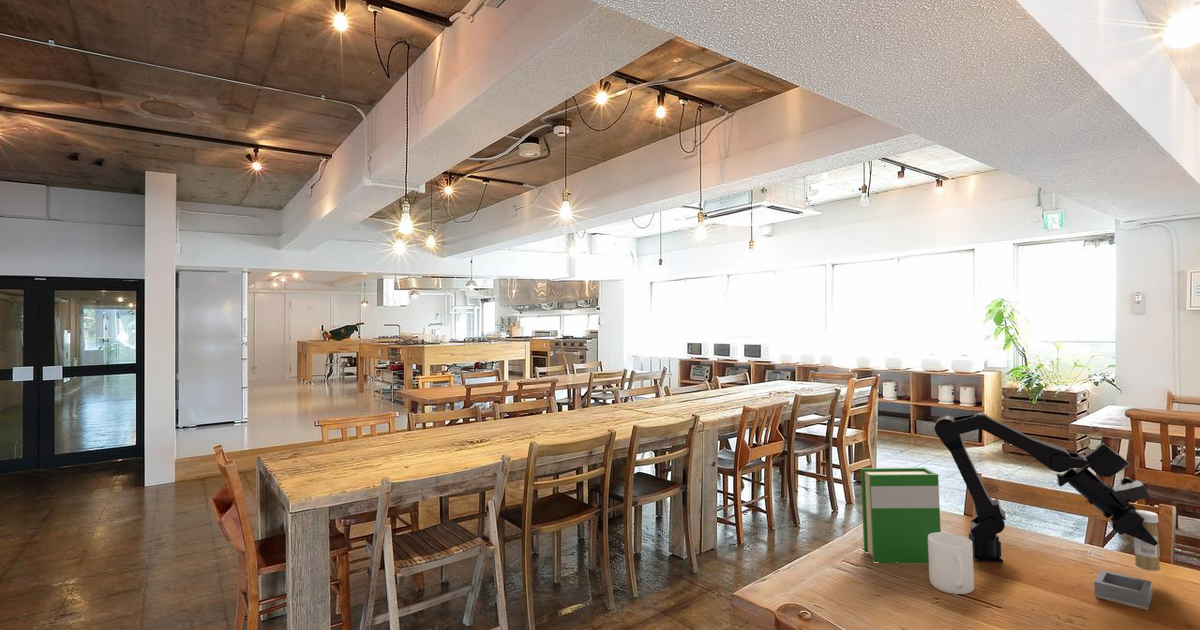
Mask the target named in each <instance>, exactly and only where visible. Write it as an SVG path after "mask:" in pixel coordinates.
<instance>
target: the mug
mask: <svg viewBox="0 0 1200 630" xmlns="http://www.w3.org/2000/svg"><path fill="white" fill-rule="evenodd" d="M928 556H929V564H928V575H929V582H930V584H931V585H932V586H933V587H934V588H936V589H937V590H939V591H941V590H942V591H941V592H943V591H945V592H944V593H947V592H948V593H947V594H951V593H953V594H952V595H958V594H964V595H968V593H969V594H971V593H972V592H973V591H974V589H975V588H974V587H975V578H974V577H975V572H974V570H975V569H974V558H973V547H972V541H971V540H970V539H969V537H967V536H964V535H961V534H956V533H953V532H943V531H941V532H935V533H930V534H929V535H928Z"/></svg>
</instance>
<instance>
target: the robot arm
mask: <svg viewBox="0 0 1200 630" xmlns="http://www.w3.org/2000/svg"><path fill="white" fill-rule="evenodd" d="M977 430H981V431H984V432H986V433H988V434H990V435H993V436H994V437H996V438H999V439H1000V440H1001V441H1004V442H1007V443H1008V444H1009V445H1010V444H1011V445H1012V446H1014V447H1016V448H1018V449H1020V450H1022V451H1024V452H1025V453H1026V452H1027V454H1029V455H1030V456H1031V457H1033V458H1035V460H1037V461H1038V462H1039V463H1041V464H1042V465H1044V466H1045V467H1047V468H1048V469H1050V470H1051V471H1053V472H1055V473H1056V477H1057V484H1058V486H1059V487H1063V486H1064V485H1066V484H1069V485H1070V486H1071V487H1072V488H1073V489H1074V490H1076V491H1077V492H1078V493H1079V494H1080V495H1081V496H1083V498H1085V499H1086V501H1087V503H1089V504H1090V505H1093V506H1094V507H1095V508H1096V509H1097V510H1099V511H1100V512H1101V513H1102V515H1103V516H1104V517H1105V518H1106V519H1109V524H1110V526H1111V528H1112V529H1113V530H1114V531H1115V532H1116V533H1117V534H1118V535H1124V534H1125V535H1127V536H1131V537H1132V538H1134V537H1135V538H1137V539H1140V540H1142V541H1144V542H1147V543H1149V544H1151V545H1153V546H1155V545H1157V544H1158V543H1159V542H1157V541H1156V540H1155V539H1154V537H1153V536H1152V535H1151V534H1150V533H1149V532H1148V530H1147V529H1146V528H1145V527H1144V526H1143V525H1142V522H1143V521H1144V520H1145V519H1144V518H1143V517H1142V515H1141V514H1139V513H1138V512H1137V511H1136V510H1137V509H1136V507H1135V505H1134V504H1133V503H1131V502H1135V501H1139V500H1147V499H1151V494H1150V493H1149V492H1148V489H1147V488H1146V486H1145V484H1144V483H1143V482H1142V481H1141V480H1137V479H1135V480H1133V479H1131V478H1130V477H1128V476H1125V477H1121V478H1120V484H1117V485H1116V486H1113V487H1112V485H1111V484H1109V483H1105V482H1104V481H1103V480H1101V479H1100V478H1099V477H1101V478H1109V479H1110V478H1112V477H1114V476H1115V475H1117V474H1118V473H1119V472H1121V471H1123V470H1124V469H1126V468H1127V467H1129V466H1130V465H1131V463H1130V462H1129V461H1127V460H1126V459H1125V458H1124V457H1123V456H1121V454H1119V453H1118V452H1116V450H1113V449H1112V448H1110V447H1109V446H1107V444H1105V443H1104V442H1101V443H1100V444H1099V445H1097V446H1096V448H1094V449H1093V450H1091V451H1090V452H1089V453H1087V454H1086V455H1085V454H1083V453H1077V452H1073V451H1068V450H1067V449H1066V448H1064V447H1063V446H1060V445H1057V444H1054V443H1052V442H1048V441H1045V440H1040V439H1036V438H1033V437H1031V436H1029V435H1028V434H1025V433H1023V432H1021V431H1019V430H1017V429H1015V428H1013V427H1011V426H1008V425H1007V424H1004V423H1002V422H1001V421H999V420H997V419H994V418H993V417H990V416H989V415H987V414H986V413H984V412H976V413H974V414H966V415H959V416H955V417H953V416H950V415H943V416H940V417H939V418H938V419H937V420H936V422H935V425H934V432H935V434H936V436H937V437H938V439H939V440H940V441H941V443H942V444H943V445H944V446H945V448H946V449H947V450H948V451H949V452H950V454H951V456H952V458H953V460H954V463H955V464H956V467H957V469H958V471H959V472H960V475H961V477H962V479H963V481H964V483H965V485H966V488H967V489H968V492H969V494H970V496H971V497H972V499H973V503H974V508H975V513H976V516H975V518H973V519H972V520H970V530H969V532H968V538H969V539H970V540H971V541H972V547H973V559H974V560H975V561H977V562H999V563H1000V562H1001V563H1002V562H1004V559H1003V558H1001V557H1002V543H1001V541H1000V538H999V537H1000V536H998V534H1000V533H1002V532H1003V531H1004V529H1005V527H1006V526H1005V525H1006V524H1005V521H1006V519H1007V518H1006V512H1005V510H1004V509H1003V508H1002V506H1001V504H1000V500H999V498H996V499H992V497H991V496H990V495H989V494H988V492H987V489H986V488H985V485H984V483H983V482H982V479H981V478H980V475H979V473H978V471H977V470H976V469H977V468H976V467H975V465H974V463H973V461H972V459H971V457H970V455H969V453H968V451H967V449H966V447H965V443H964V439H963V435H962V434H966V433H970V432H973V431H977ZM1089 468H1090V469H1091V470H1092V471H1091V470H1090V469H1089ZM1093 472H1094V473H1096V474H1097V475H1098V476H1099V477H1098V476H1096V475H1095V474H1094V473H1093Z"/></svg>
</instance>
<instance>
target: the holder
mask: <svg viewBox="0 0 1200 630" xmlns="http://www.w3.org/2000/svg"><path fill="white" fill-rule="evenodd" d="M1093 583H1094V586H1093V587H1094V597H1095V598H1099V599H1104V600H1107V601H1110V602H1114V603H1117V604H1121V605H1125V606H1129V607H1134V608H1136V609H1137V608H1138V609H1142V610H1145V611H1149V609H1150V606H1151V602H1152V599H1153V597H1152V596H1154V595H1153V582H1152V580H1147V579H1143V578H1138V577H1134V576H1130V575H1125V574H1121V573H1117V572H1113V571H1108V570H1104V569H1100V571H1099V573H1098V574H1097V577H1096V578H1095V580H1094V582H1093Z"/></svg>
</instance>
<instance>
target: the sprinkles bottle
mask: <svg viewBox="0 0 1200 630" xmlns="http://www.w3.org/2000/svg"><path fill="white" fill-rule="evenodd" d="M1136 511H1137V512H1138V513H1139V514H1141V515H1142V517H1143V518H1144V519H1145V520H1144V521H1143V522H1142V525H1143V526H1144V527H1145V528H1146V529H1147V530H1148V532H1149V533H1150V534H1151V535H1152V536H1153V537H1154V539H1155V540H1156V541H1157V542H1158V544H1157V545H1155V546H1153V545H1151V544H1149V543H1147V542H1144V541H1142V540H1140V539H1137V538H1135V537H1133V538H1134V540H1133V542H1134V556H1135V560H1134V561H1135V562H1134V566H1135V567H1137V568H1139V569H1141V570H1145V571H1151V572H1159V571H1161V567H1160V543H1159V531H1158V530H1159V528H1158V525H1159V515H1158V514H1157V513H1156V512H1153V511H1149V510H1143V509H1136Z"/></svg>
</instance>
